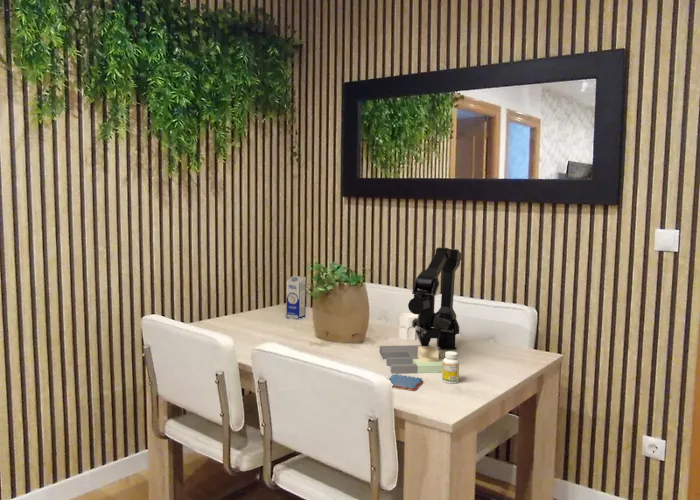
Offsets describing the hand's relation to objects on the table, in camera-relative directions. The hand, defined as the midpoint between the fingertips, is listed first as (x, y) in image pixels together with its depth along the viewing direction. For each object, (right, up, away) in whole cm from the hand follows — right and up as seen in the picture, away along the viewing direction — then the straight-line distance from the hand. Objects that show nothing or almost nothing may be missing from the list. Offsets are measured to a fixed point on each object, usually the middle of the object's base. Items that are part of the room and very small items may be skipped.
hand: (424, 351), depth 211 cm
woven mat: (-10, -7, -24) cm, 27 cm away
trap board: (-5, -4, +1) cm, 6 cm away
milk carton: (-54, +4, +70) cm, 89 cm away
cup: (-2, -1, +35) cm, 35 cm away
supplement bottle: (+6, -7, -20) cm, 22 cm away
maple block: (0, -2, -4) cm, 5 cm away
